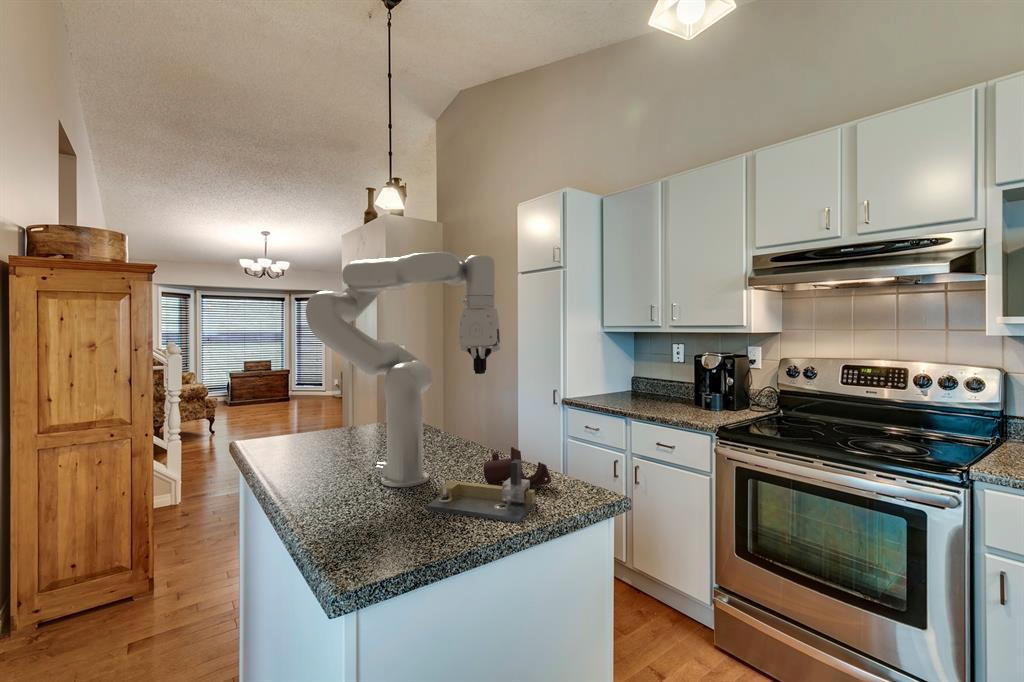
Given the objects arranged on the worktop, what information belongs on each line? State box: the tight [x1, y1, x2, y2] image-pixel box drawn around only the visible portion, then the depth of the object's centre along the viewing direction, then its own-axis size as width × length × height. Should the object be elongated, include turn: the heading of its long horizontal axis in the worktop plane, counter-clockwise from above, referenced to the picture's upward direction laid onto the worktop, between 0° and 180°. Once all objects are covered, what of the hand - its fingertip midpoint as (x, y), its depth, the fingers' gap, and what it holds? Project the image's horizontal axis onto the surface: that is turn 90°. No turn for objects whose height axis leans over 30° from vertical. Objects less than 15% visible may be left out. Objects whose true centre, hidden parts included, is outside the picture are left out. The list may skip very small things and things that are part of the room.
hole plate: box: [425, 495, 537, 524], centre depth 107 cm, size 22×12×1 cm, turn 71°
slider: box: [501, 459, 531, 506], centre depth 107 cm, size 5×8×9 cm, turn 161°
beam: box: [439, 479, 536, 504], centre depth 109 cm, size 22×6×2 cm, turn 71°
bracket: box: [483, 446, 552, 487], centre depth 124 cm, size 6×17×10 cm, turn 75°
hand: (479, 373), depth 124 cm, fingers closed
